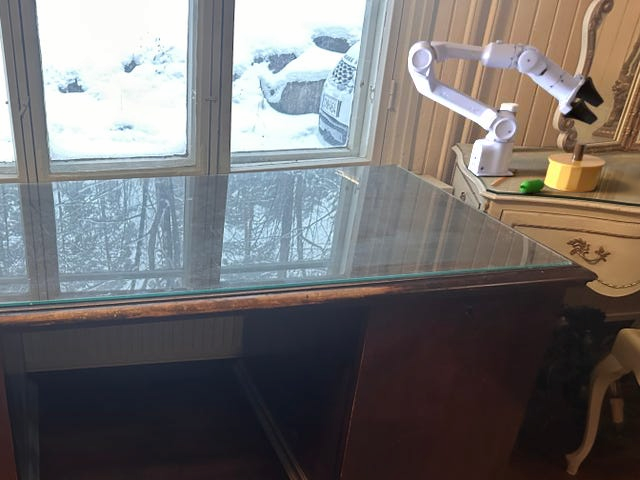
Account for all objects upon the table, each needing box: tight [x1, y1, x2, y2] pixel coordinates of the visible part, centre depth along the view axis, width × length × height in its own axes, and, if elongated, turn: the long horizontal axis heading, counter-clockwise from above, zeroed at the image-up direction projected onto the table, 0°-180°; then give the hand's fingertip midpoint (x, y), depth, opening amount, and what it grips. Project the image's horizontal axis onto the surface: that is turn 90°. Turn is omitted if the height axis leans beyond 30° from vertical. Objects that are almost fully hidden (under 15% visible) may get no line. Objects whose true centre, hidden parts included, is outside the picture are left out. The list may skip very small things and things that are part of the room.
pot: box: [543, 161, 603, 193], centre depth 173 cm, size 12×12×6 cm
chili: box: [517, 178, 545, 194], centre depth 169 cm, size 8×3×3 cm, turn 109°
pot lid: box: [548, 141, 606, 169], centre depth 170 cm, size 13×13×5 cm
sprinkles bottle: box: [500, 102, 520, 118], centre depth 200 cm, size 5×5×14 cm
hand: (597, 112), depth 171 cm, fingers open, 7 cm apart
